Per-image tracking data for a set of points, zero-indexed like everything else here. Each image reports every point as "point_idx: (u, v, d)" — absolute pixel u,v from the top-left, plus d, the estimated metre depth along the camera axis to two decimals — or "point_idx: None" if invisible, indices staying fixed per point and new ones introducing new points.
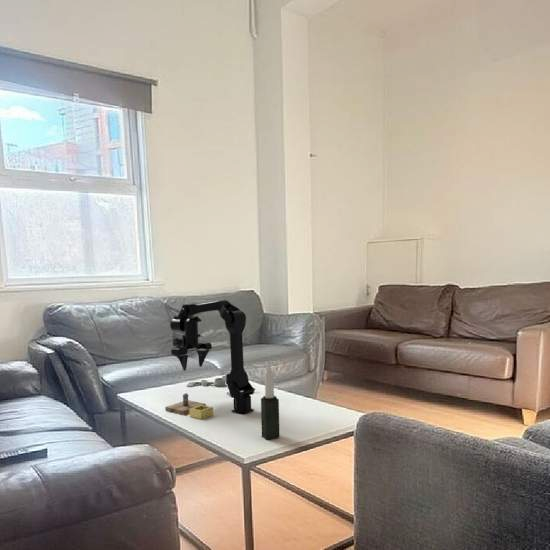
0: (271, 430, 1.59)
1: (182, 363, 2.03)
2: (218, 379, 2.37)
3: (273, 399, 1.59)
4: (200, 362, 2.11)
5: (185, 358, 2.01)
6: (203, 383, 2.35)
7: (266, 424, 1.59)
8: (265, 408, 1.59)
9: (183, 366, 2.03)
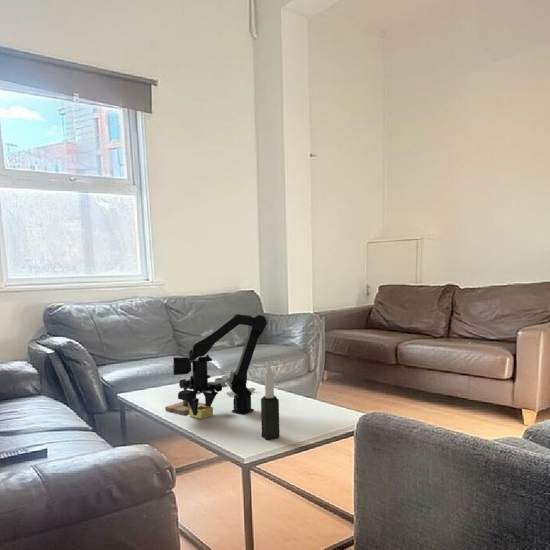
0: (271, 430, 1.59)
1: (192, 407, 1.83)
2: (218, 379, 2.37)
3: (273, 399, 1.59)
4: None
5: (196, 402, 1.81)
6: None
7: (266, 424, 1.59)
8: (265, 408, 1.59)
9: (193, 411, 1.84)
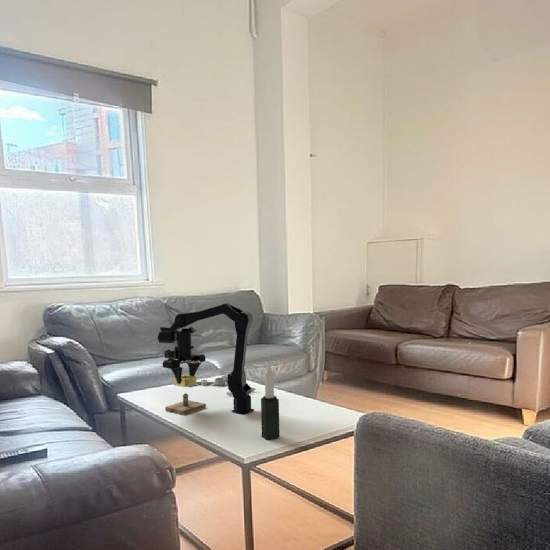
0: (271, 430, 1.59)
1: (176, 376, 1.92)
2: (218, 379, 2.37)
3: (273, 399, 1.59)
4: (190, 375, 1.99)
5: (179, 371, 1.91)
6: (203, 383, 2.35)
7: (266, 424, 1.59)
8: (265, 408, 1.59)
9: (177, 379, 1.93)
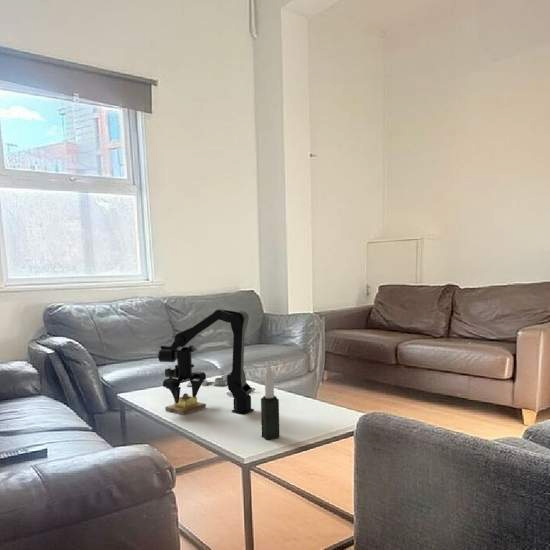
0: (271, 430, 1.59)
1: (174, 396, 1.92)
2: (218, 379, 2.38)
3: (273, 399, 1.59)
4: (193, 393, 2.00)
5: (177, 391, 1.90)
6: (203, 383, 2.36)
7: (266, 424, 1.59)
8: (265, 408, 1.59)
9: (175, 399, 1.92)
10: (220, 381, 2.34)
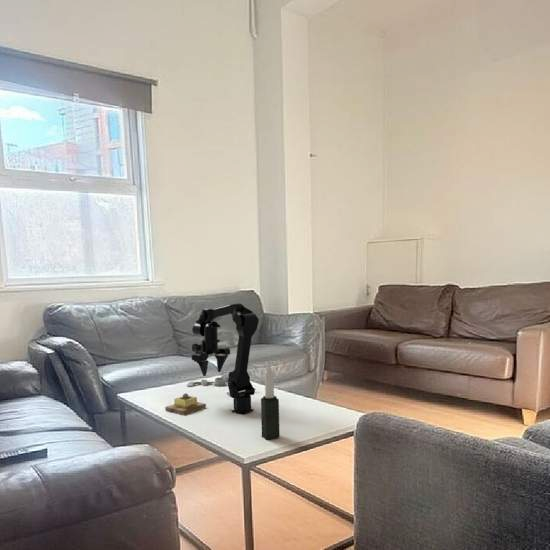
0: (271, 430, 1.59)
1: (202, 369, 2.02)
2: (218, 378, 2.38)
3: (273, 399, 1.59)
4: (218, 367, 2.10)
5: (206, 364, 2.00)
6: (203, 383, 2.36)
7: (266, 424, 1.59)
8: (265, 408, 1.59)
9: (203, 372, 2.02)
10: (220, 381, 2.34)
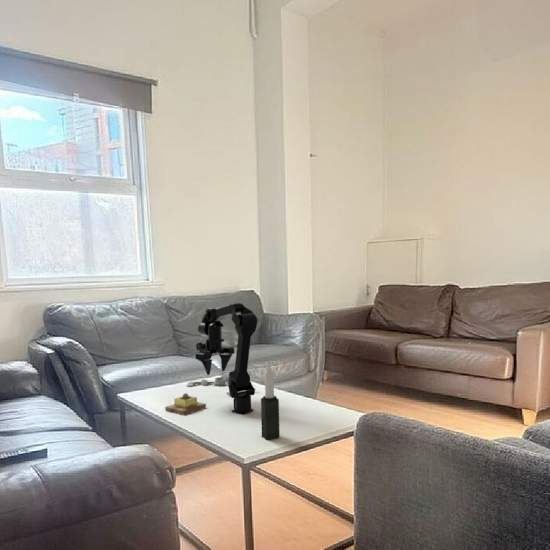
0: (271, 430, 1.59)
1: (206, 368, 2.03)
2: (218, 378, 2.38)
3: (273, 399, 1.59)
4: (223, 366, 2.12)
5: (209, 363, 2.01)
6: (203, 383, 2.36)
7: (266, 424, 1.59)
8: (265, 408, 1.59)
9: (207, 371, 2.04)
10: (220, 381, 2.34)
